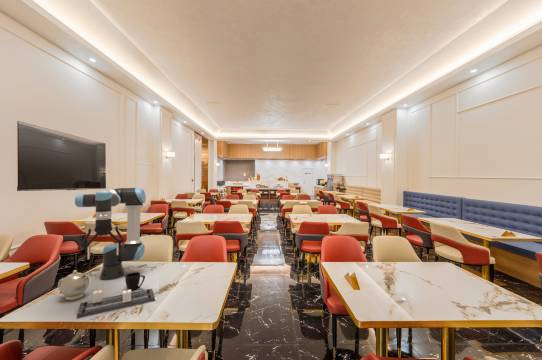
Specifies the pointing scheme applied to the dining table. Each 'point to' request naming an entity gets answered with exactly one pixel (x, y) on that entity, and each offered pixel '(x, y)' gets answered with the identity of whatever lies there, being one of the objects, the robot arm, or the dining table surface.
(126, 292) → the fader
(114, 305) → the console
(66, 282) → the teapot
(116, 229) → the robot arm
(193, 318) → the dining table surface
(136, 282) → the mug
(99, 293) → the fader
